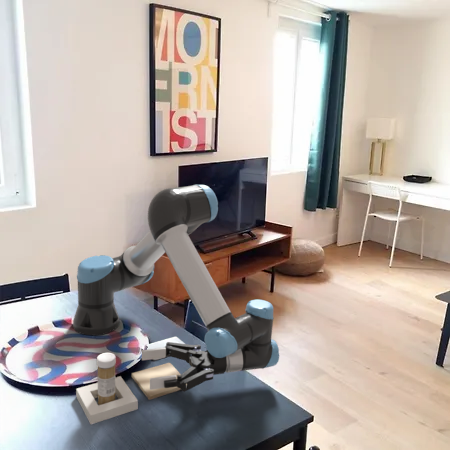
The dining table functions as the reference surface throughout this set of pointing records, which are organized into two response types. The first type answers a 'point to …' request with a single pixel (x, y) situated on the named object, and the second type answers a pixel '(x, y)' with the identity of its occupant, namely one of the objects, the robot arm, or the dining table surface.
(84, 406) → the socket block
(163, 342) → the hard drive
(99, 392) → the sprinkles bottle
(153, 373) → the birch board
